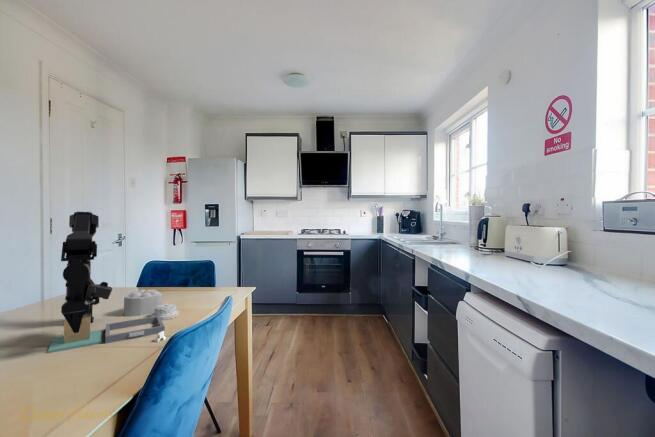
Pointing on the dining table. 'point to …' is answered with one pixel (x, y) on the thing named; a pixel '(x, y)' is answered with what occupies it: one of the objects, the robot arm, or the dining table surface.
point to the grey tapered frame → (137, 332)
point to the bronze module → (83, 331)
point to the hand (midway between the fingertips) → (77, 328)
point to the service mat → (59, 342)
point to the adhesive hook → (160, 336)
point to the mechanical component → (165, 311)
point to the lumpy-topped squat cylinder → (142, 302)
